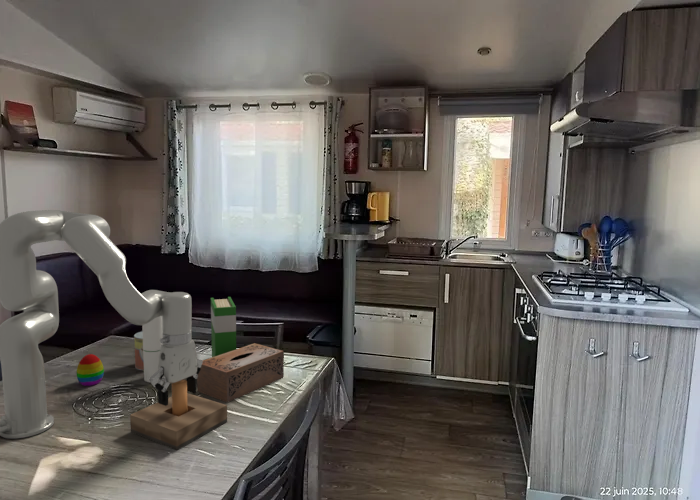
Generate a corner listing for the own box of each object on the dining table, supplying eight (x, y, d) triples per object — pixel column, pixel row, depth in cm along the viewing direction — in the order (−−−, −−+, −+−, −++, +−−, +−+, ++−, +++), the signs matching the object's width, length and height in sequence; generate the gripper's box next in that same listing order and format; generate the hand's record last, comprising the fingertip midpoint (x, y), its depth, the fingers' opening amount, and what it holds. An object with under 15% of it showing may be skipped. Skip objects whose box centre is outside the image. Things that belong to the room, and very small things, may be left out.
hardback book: (211, 357, 193) (210, 297, 190) (231, 355, 195) (230, 296, 192) (215, 373, 176) (214, 308, 173) (236, 371, 179) (235, 306, 176)
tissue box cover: (227, 403, 152) (226, 372, 151) (197, 391, 161) (196, 362, 159) (283, 378, 173) (283, 351, 172) (254, 369, 182) (254, 343, 180)
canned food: (132, 371, 177) (131, 339, 175) (137, 361, 187) (136, 330, 186) (166, 369, 180) (165, 337, 178) (168, 358, 190) (167, 328, 189)
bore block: (176, 450, 124) (176, 431, 124) (130, 432, 133) (130, 414, 132) (227, 421, 140) (226, 405, 139) (182, 407, 149) (182, 391, 148)
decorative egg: (91, 377, 171) (90, 349, 170) (109, 380, 168) (108, 352, 167) (71, 385, 163) (69, 356, 162) (90, 389, 161) (88, 359, 160)
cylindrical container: (169, 375, 174) (167, 306, 171) (160, 382, 167) (157, 311, 164) (150, 374, 175) (148, 305, 172) (140, 381, 168) (137, 310, 164)
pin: (179, 428, 134) (178, 386, 132) (169, 424, 136) (168, 382, 134) (190, 422, 137) (190, 381, 136) (180, 418, 139) (179, 378, 138)
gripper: (160, 348, 124) (161, 413, 126) (210, 332, 139) (210, 390, 141) (140, 343, 128) (141, 405, 130) (191, 328, 143) (192, 384, 145)
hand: (177, 397), depth 135 cm, fingers open, 9 cm apart
